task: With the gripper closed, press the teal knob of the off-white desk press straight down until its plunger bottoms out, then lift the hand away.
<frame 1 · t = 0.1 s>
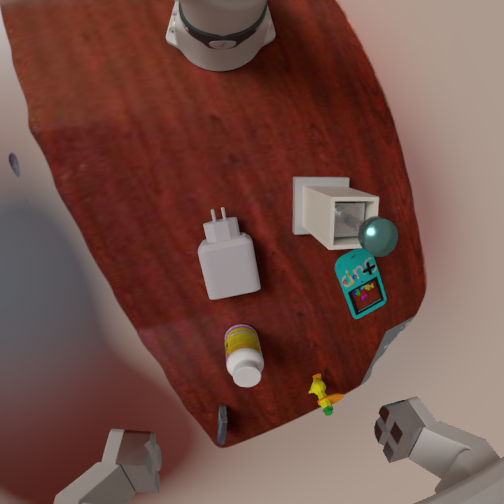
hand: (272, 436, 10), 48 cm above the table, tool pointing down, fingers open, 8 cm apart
supplement bottle: (240, 336, 64), on the table
press housing: (319, 204, 57), on the table
charger: (225, 246, 58), on the table
toy figure: (317, 376, 69), on the table
handheld gaming console: (360, 281, 63), on the table
mini dv tape: (221, 415, 70), on the table
plunger: (360, 226, 40), point 17 cm above the table, slide at 0.0 cm
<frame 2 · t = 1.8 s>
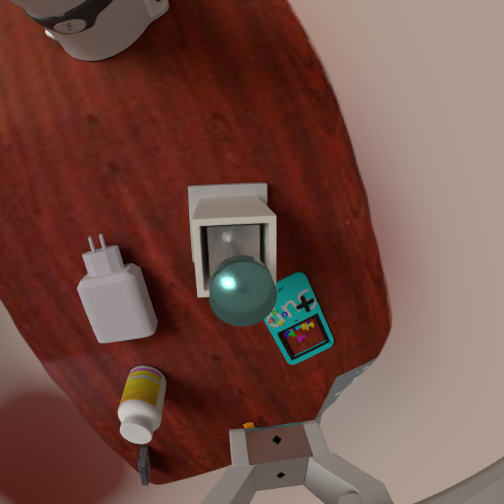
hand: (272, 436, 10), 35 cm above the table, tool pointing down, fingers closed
supplement bottle: (148, 378, 50), on the table
press housing: (228, 221, 43), on the table
charger: (116, 279, 44), on the table
handheld gaming console: (295, 319, 49), on the table
mini dv tape: (145, 454, 56), on the table
plunger: (237, 265, 26), point 18 cm above the table, slide at 0.0 cm
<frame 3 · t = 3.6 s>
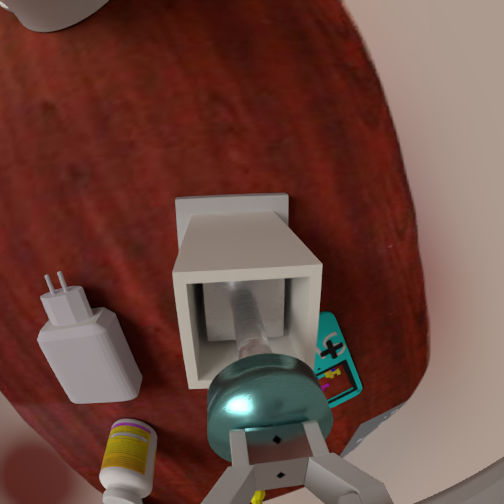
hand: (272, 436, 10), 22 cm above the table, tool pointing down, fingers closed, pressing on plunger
supplement bottle: (135, 430, 38), on the table
press housing: (233, 246, 31), on the table
charger: (86, 325, 32), on the table
toy figure: (257, 474, 43), on the table
handheld gaming console: (317, 366, 37), on the table
plunger: (252, 342, 16), point 16 cm above the table, slide at 1.2 cm, touching gripper
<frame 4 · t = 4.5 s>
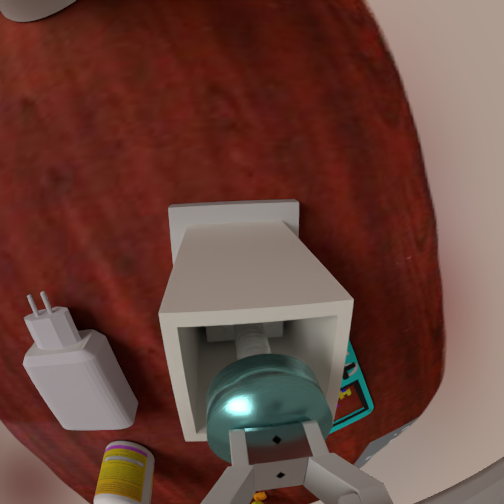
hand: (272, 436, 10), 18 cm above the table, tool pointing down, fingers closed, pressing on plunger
supplement bottle: (130, 452, 34), on the table
press housing: (235, 260, 27), on the table
charger: (75, 347, 29), on the table
toy figure: (260, 493, 39), on the table
handheld gaming console: (326, 387, 34), on the table
plunger: (251, 343, 15), point 12 cm above the table, slide at 5.2 cm, touching gripper
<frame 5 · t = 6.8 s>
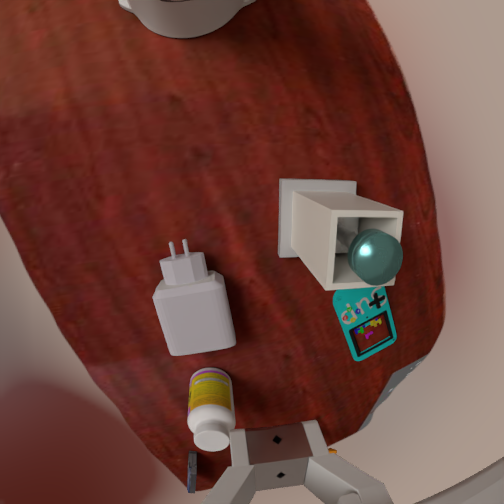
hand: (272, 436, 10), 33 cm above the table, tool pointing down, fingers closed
supplement bottle: (210, 380, 49), on the table
press housing: (315, 216, 42), on the table
charger: (191, 287, 44), on the table
handheld gaming console: (364, 316, 49), on the table
mini dv tape: (192, 461, 55), on the table
plunger: (352, 241, 31), point 12 cm above the table, slide at 5.1 cm
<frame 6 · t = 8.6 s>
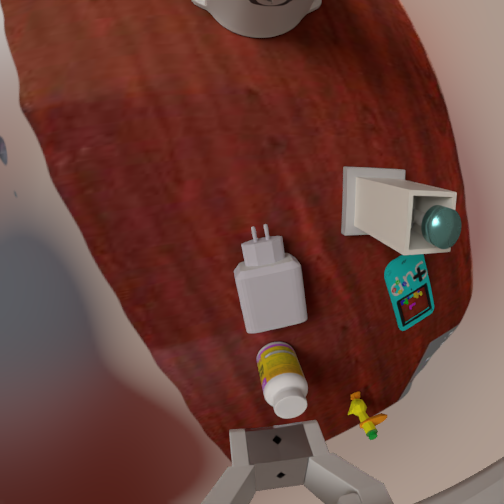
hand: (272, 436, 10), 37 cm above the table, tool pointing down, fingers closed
supplement bottle: (275, 355, 53), on the table
press housing: (372, 200, 47), on the table
charger: (265, 269, 48), on the table
toy figure: (355, 394, 59), on the table
handheld gaming console: (408, 289, 53), on the table
plunger: (417, 216, 35), point 12 cm above the table, slide at 5.1 cm
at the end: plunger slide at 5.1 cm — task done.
